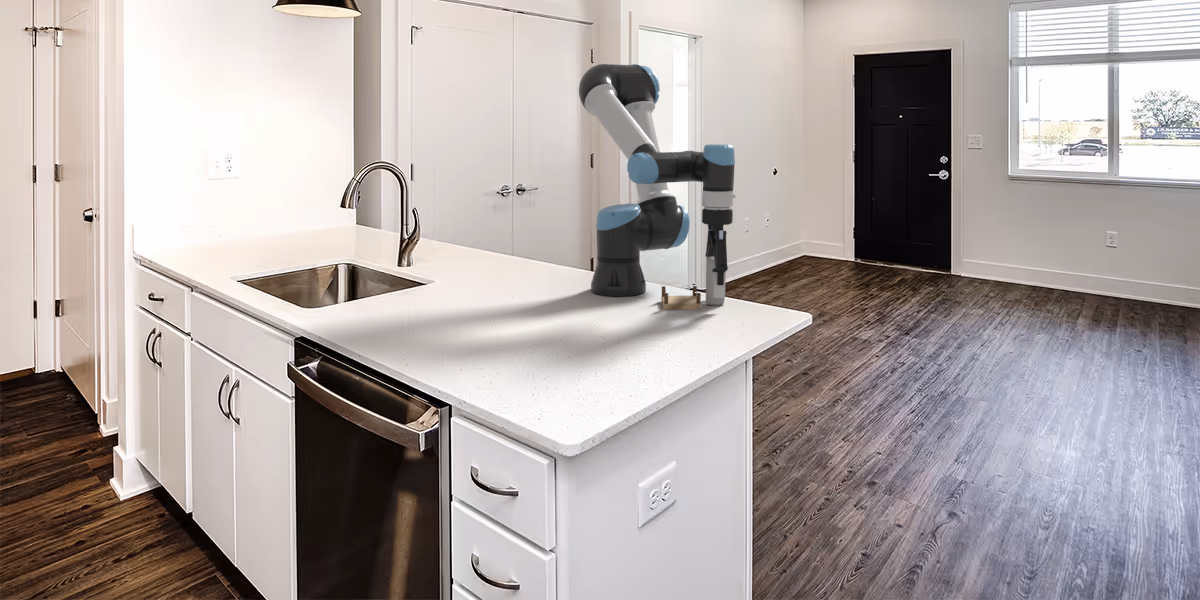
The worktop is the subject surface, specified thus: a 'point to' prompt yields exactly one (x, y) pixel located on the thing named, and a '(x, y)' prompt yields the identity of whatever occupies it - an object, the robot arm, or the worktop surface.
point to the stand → (681, 301)
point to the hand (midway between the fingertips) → (715, 291)
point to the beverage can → (711, 284)
